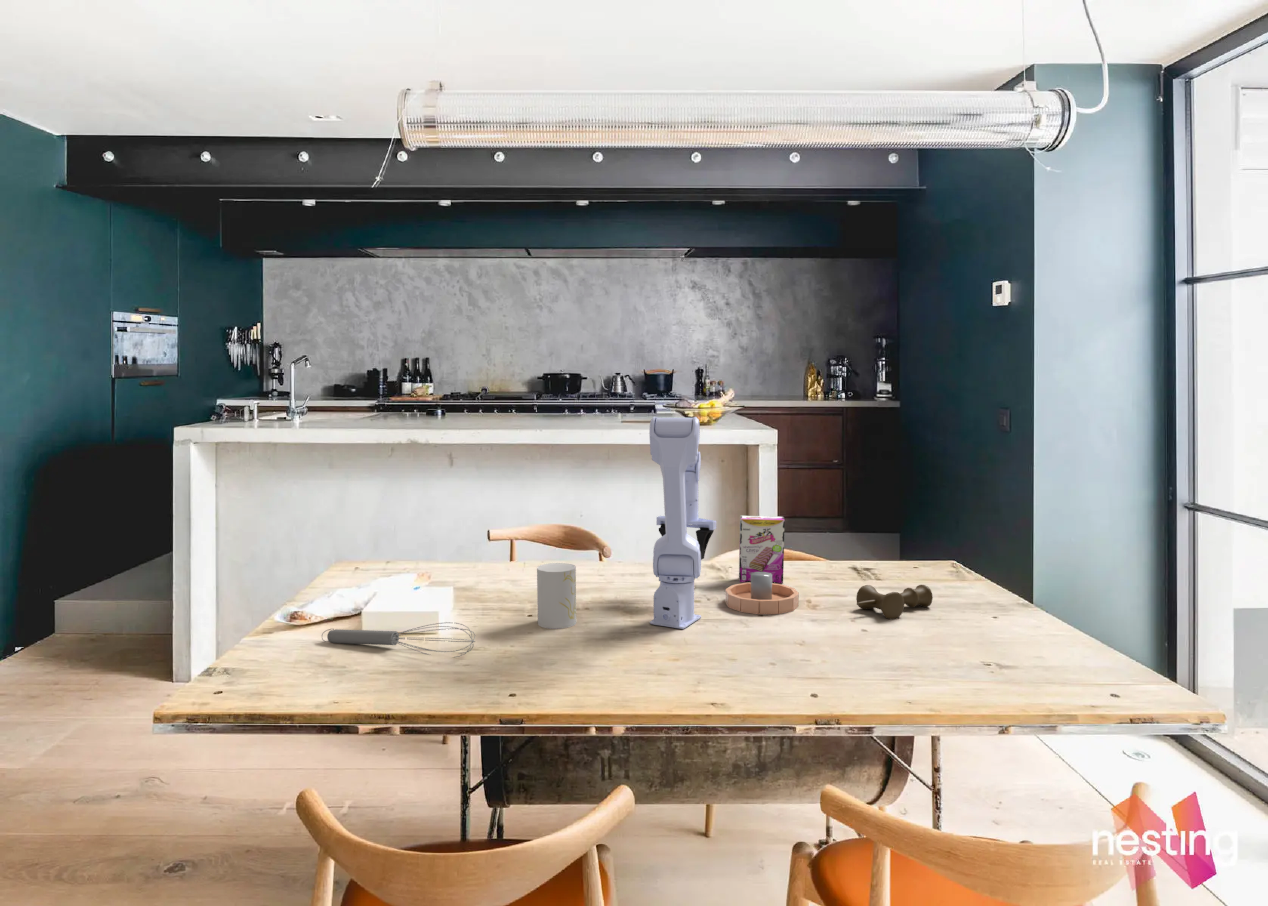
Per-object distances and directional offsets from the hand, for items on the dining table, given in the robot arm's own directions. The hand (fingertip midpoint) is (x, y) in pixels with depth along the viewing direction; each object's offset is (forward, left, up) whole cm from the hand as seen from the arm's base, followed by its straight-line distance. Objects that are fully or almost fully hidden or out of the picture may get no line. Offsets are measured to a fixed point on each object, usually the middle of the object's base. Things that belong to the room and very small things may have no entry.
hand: (686, 557), depth 195 cm
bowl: (+2, -18, -9) cm, 20 cm away
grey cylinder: (+2, -18, -8) cm, 20 cm away
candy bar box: (+22, -11, -10) cm, 26 cm away
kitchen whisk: (-59, +34, -10) cm, 69 cm away
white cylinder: (-31, +16, -10) cm, 36 cm away
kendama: (+10, -45, -10) cm, 48 cm away
